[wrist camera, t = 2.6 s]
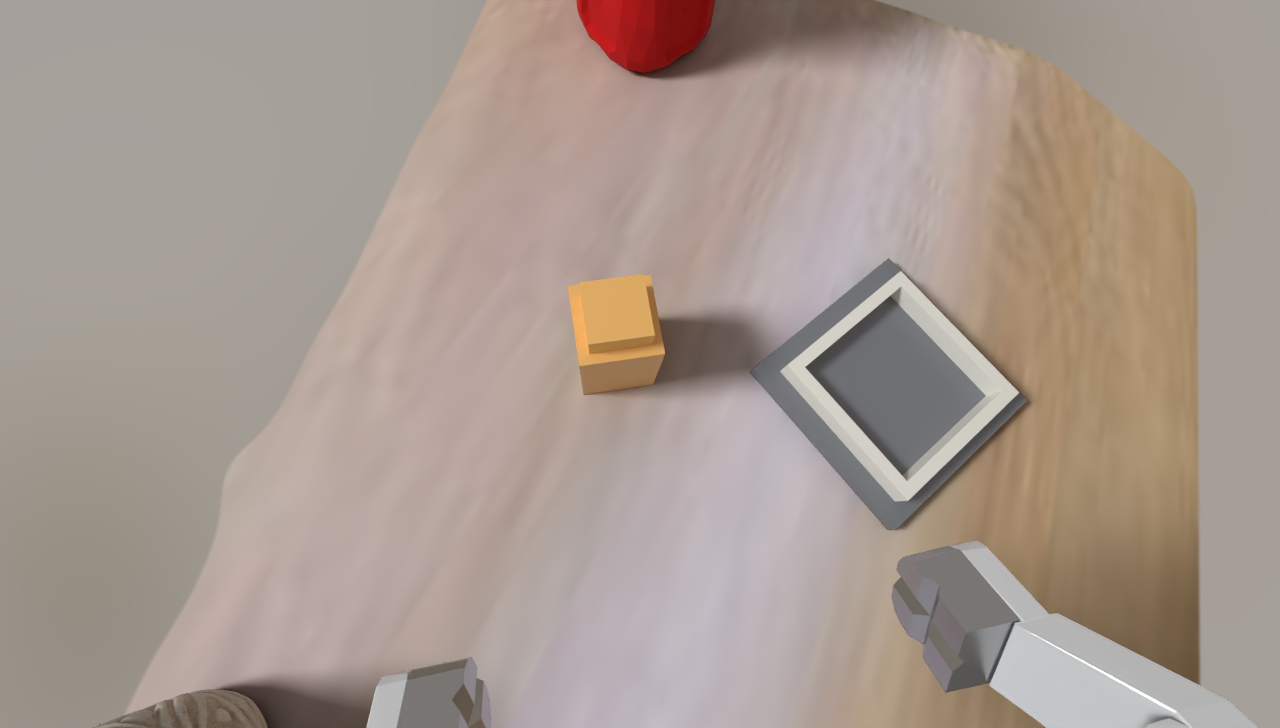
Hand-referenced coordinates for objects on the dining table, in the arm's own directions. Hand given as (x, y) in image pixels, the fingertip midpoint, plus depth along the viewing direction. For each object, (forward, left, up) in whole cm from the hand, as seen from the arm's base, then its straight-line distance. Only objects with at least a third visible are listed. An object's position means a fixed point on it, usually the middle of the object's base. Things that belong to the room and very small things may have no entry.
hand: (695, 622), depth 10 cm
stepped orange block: (+10, -7, -24) cm, 27 cm away
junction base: (-3, -20, -24) cm, 31 cm away
